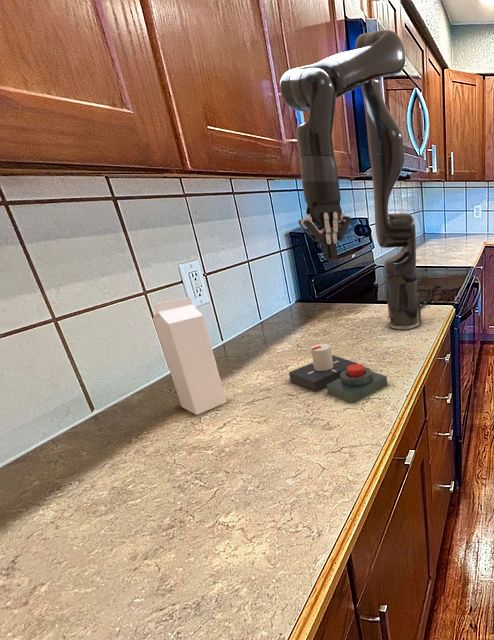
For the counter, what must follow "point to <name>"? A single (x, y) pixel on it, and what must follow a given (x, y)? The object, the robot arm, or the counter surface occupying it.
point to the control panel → (319, 374)
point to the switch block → (356, 385)
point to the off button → (355, 370)
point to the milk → (189, 355)
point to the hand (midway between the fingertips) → (331, 260)
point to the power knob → (322, 357)
